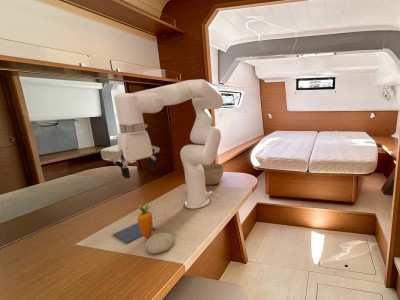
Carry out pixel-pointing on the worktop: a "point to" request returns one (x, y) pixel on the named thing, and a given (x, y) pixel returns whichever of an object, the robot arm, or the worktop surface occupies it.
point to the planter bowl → (213, 173)
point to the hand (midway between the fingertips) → (140, 173)
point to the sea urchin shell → (159, 243)
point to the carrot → (145, 221)
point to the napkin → (130, 233)
